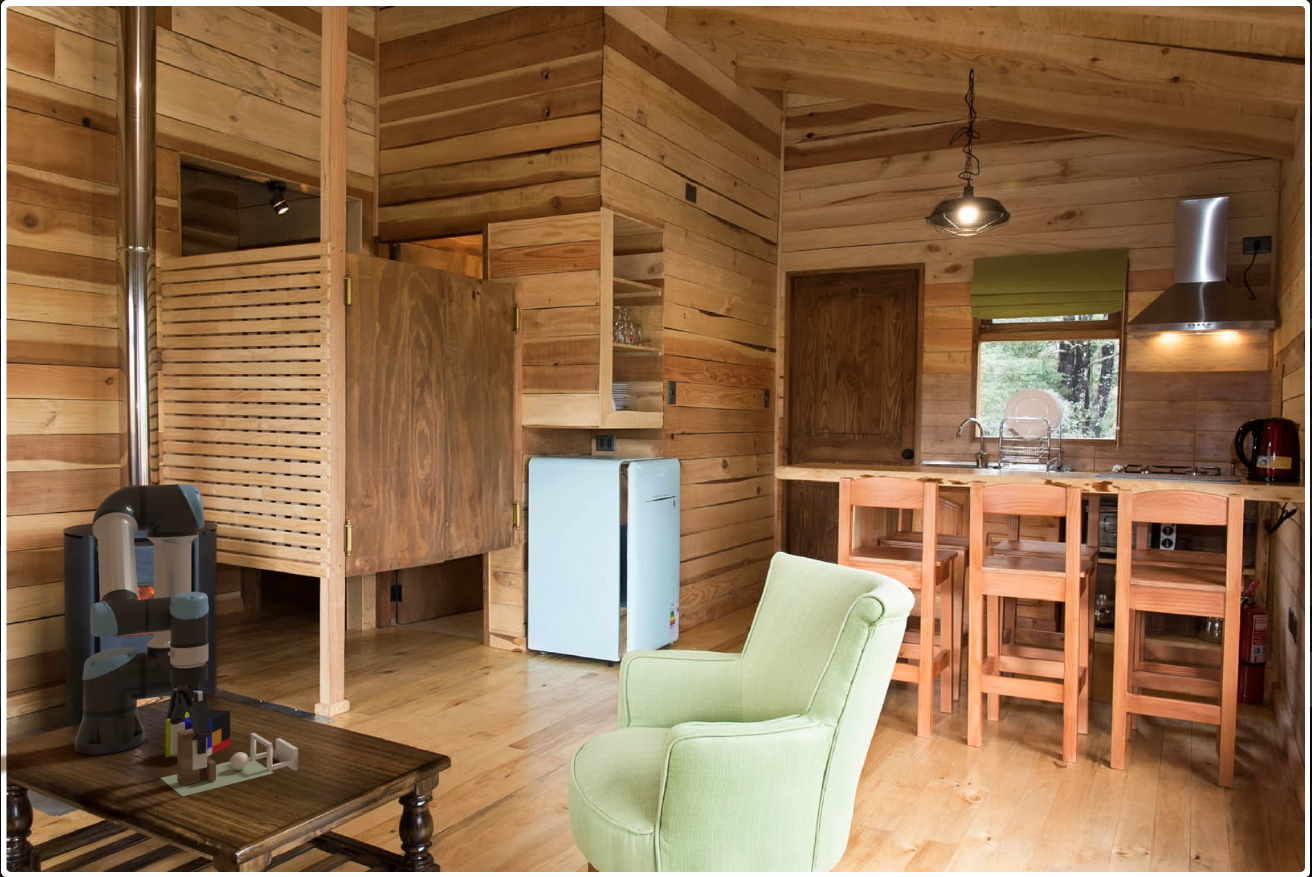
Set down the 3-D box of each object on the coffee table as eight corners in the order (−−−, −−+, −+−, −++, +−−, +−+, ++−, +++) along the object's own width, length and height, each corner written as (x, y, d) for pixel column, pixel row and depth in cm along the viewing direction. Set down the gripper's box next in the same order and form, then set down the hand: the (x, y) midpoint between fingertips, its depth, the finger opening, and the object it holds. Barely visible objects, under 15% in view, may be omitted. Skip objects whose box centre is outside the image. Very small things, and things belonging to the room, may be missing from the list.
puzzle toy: (202, 765, 220) (202, 723, 220) (165, 762, 222) (165, 720, 222) (230, 751, 230) (230, 710, 230) (194, 747, 232) (194, 707, 232)
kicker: (174, 779, 207) (174, 729, 206) (204, 771, 211) (204, 723, 211) (185, 788, 202) (185, 737, 201) (216, 780, 206) (216, 731, 206)
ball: (226, 770, 213) (227, 752, 213) (244, 765, 216) (244, 748, 216) (233, 774, 210) (233, 757, 210) (251, 770, 213) (251, 753, 213)
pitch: (160, 784, 208) (160, 751, 208) (276, 756, 226) (276, 725, 226) (182, 803, 198) (182, 767, 198) (301, 772, 216) (301, 739, 216)
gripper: (151, 656, 211) (151, 750, 211) (191, 677, 193) (190, 779, 194) (187, 651, 216) (186, 742, 216) (228, 671, 199) (228, 770, 199)
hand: (188, 760), depth 205 cm, fingers open, 13 cm apart
